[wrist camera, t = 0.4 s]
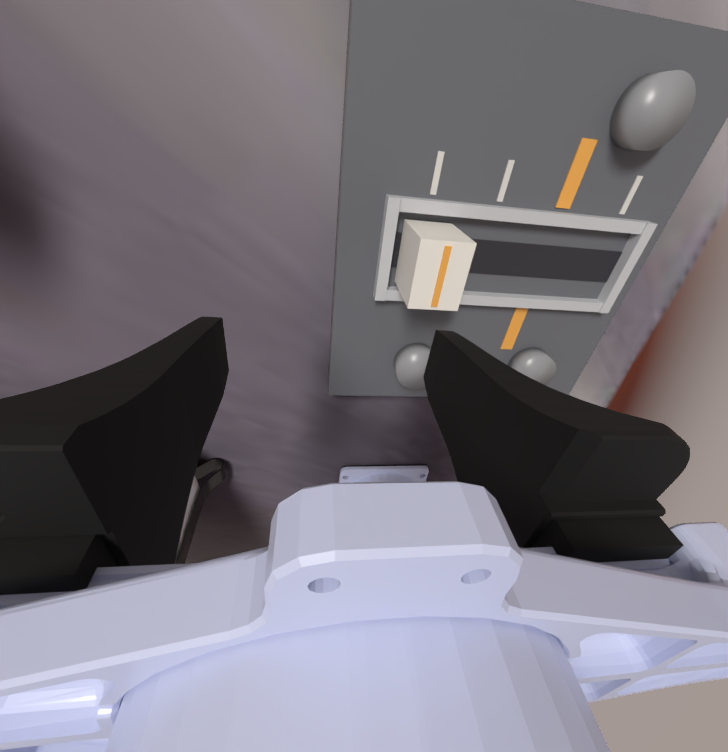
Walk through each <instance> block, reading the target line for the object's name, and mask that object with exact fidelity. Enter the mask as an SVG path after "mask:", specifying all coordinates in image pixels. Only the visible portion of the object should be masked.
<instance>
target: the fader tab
mask: <svg viewBox="0 0 728 752" xmlns="http://www.w3.org/2000/svg"><path fill="white" fill-rule="evenodd" d="M476 245H477V243H476V242H475V241H473V240H472V239H471V238H469V237H468V236H467V235H466V234H464V233H463V232H462V231H461V230H459V229H458V228H457V227H456V226H454V225H453V224H451V223H440V222H429V221H418V220H407V219H404V225H403V232H402V238H401V244H400V250H399V256H398V262H397V268H396V275H395V283H396V285H397V287H398V289H399V291H400V294H401V296H402V298H403V300H404V302H405V304H406V306H407V308H408V309H427V310H446V311H458V308H459V304H460V301H461V297H462V294H463V290H464V287H465V283H466V280H467V276H468V273H469V269H470V266H471V262H472V259H473V255H474V252H475V248H476Z"/></svg>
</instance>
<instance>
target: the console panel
mask: <svg viewBox="0 0 728 752" xmlns="http://www.w3.org/2000/svg"><path fill="white" fill-rule="evenodd" d="M727 117H728V31H724V30H719V29H714V28H709V27H704V26H699V25H694V24H689V23H684V22H679V21H674V20H670V19H665V18H660V17H655V16H650V15H645V14H640V13H635V12H630V11H625V10H620V9H615V8H610V7H605V6H600V5H595V4H590V3H585V2H580V1H575V0H350V8H349V25H348V42H347V60H346V77H345V94H344V111H343V128H342V145H341V163H340V180H339V197H338V214H337V231H336V249H335V266H334V283H333V300H332V317H331V335H330V352H329V369H328V395H341V396H409V397H428V396H427V392H426V388H425V383H424V378H423V376H424V372H425V368H426V365H427V361H428V357H429V353H430V350H431V346H432V342H433V338H434V335H435V331H436V330H446V331H454V332H456V333H458V334H459V335H461V336H463V337H464V338H466V339H468V340H469V341H471V342H472V343H474V344H475V345H477V346H478V347H480V348H481V349H483V350H484V351H486V352H487V353H489V354H490V355H492V356H493V357H495V358H497V359H498V360H500V361H501V362H503V363H505V364H506V365H508V366H510V367H511V368H513V369H515V370H517V371H518V372H520V373H522V374H524V375H526V376H528V377H529V378H532V379H534V380H536V381H538V382H540V383H542V384H544V385H546V386H548V387H550V388H553V389H555V390H557V391H560V392H562V393H565V394H567V395H569V393H570V392H571V390H572V388H573V386H574V385H575V383H576V381H577V379H578V378H579V376H580V374H581V372H582V371H583V369H584V367H585V365H586V364H587V362H588V360H589V358H590V357H591V355H592V353H593V351H594V350H595V348H596V346H597V344H598V343H599V341H600V339H601V337H602V336H603V334H604V332H605V330H606V329H607V327H608V325H609V323H610V322H611V320H612V318H613V316H614V315H615V313H616V311H617V309H618V308H619V306H620V304H621V302H622V301H623V299H624V297H625V295H626V294H627V292H628V290H629V288H630V287H631V285H632V283H633V281H634V280H635V278H636V276H637V274H638V273H639V271H640V269H641V267H642V266H643V264H644V262H645V260H646V259H647V257H648V255H649V253H650V252H651V250H652V248H653V246H654V245H655V243H656V241H657V239H658V238H659V236H660V234H661V232H662V231H663V229H664V227H665V225H666V224H667V222H668V220H669V218H670V217H671V215H672V213H673V211H674V210H675V208H676V206H677V205H678V203H679V201H680V199H681V198H682V196H683V194H684V192H685V191H686V189H687V187H688V185H689V184H690V182H691V180H692V178H693V177H694V175H695V173H696V171H697V170H698V168H699V166H700V164H701V163H702V161H703V159H704V157H705V156H706V154H707V152H708V150H709V149H710V147H711V145H712V143H713V142H714V140H715V138H716V136H717V135H718V133H719V131H720V129H721V128H722V126H723V124H724V122H725V121H726V119H727ZM404 219H407V220H418V221H429V222H440V223H451V224H453V225H454V226H456V227H457V228H458V229H459V230H461V231H462V232H463V233H464V234H466V235H467V236H468V237H469V238H471V239H472V240H473V241H475V242H476V243H477V245H476V248H475V252H474V255H473V259H472V262H471V266H470V269H469V273H468V276H467V280H466V283H465V287H464V290H463V294H462V297H461V301H460V304H459V308H458V311H446V310H427V309H408V308H407V306H406V304H405V302H404V300H403V298H402V296H401V294H400V291H399V289H398V287H397V285H396V283H395V275H396V268H397V262H398V256H399V250H400V244H401V238H402V232H403V225H404Z"/></svg>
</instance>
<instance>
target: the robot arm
mask: <svg viewBox="0 0 728 752" xmlns="http://www.w3.org/2000/svg"><path fill="white" fill-rule="evenodd" d="M228 371H229V368H228V360H227V352H226V344H225V336H224V328H223V320H222V318H217V317H200V318H198V319H196V320H194V321H193V322H191V323H189V324H188V325H186V326H184V327H183V328H181V329H179V330H178V331H176V332H174V333H173V334H171V335H169V336H167V337H166V338H164V339H162V340H161V341H159V342H157V343H155V344H153V345H151V346H150V347H148V348H146V349H144V350H142V351H140V352H138V353H136V354H134V355H132V356H130V357H128V358H126V359H124V360H122V361H119V362H117V363H115V364H112V365H110V366H107V367H105V368H103V369H100V370H98V371H95V372H92V373H89V374H86V375H83V376H80V377H77V378H74V379H71V380H68V381H65V382H62V383H60V384H56V385H53V386H49V387H46V388H42V389H39V390H35V391H31V392H27V393H23V394H19V395H15V396H11V397H7V398H3V399H0V752H610V750H609V748H608V746H607V744H606V741H605V739H604V737H603V735H602V733H601V730H600V728H599V726H598V724H597V722H596V719H595V718H594V715H593V713H592V711H591V709H590V706H589V704H588V703H589V702H594V701H599V700H605V699H609V698H614V697H620V696H624V695H630V694H635V693H640V692H645V691H650V690H656V689H661V688H667V687H672V686H678V685H684V684H691V683H697V682H703V681H710V680H717V679H725V678H728V530H727V529H725V527H724V526H723V525H722V524H721V523H716V522H705V523H683V524H678V525H675V526H673V527H670V528H668V527H667V525H666V524H665V523H664V522H663V521H662V519H661V518H660V517H659V516H663V515H664V514H665V509H664V508H663V506H662V505H661V504H660V503H659V502H658V501H657V500H656V499H657V498H658V497H659V496H660V495H661V494H662V493H663V492H664V491H665V489H667V488H668V487H669V486H670V484H672V483H673V482H674V481H675V479H676V478H677V477H678V476H679V475H680V474H681V473H682V471H683V470H684V469H685V468H686V465H687V463H688V461H689V458H690V448H689V446H688V445H687V443H686V442H685V441H684V440H683V439H682V438H681V437H680V436H678V435H677V434H676V433H675V432H674V431H673V430H672V429H670V428H669V427H668V426H666V425H664V424H662V423H658V422H654V421H650V420H646V419H643V418H639V417H635V416H631V415H627V414H623V413H619V412H616V411H613V410H610V409H607V408H604V407H600V406H597V405H594V404H591V403H588V402H586V401H583V400H580V399H577V398H575V397H572V396H570V395H567V394H565V393H562V392H560V391H557V390H555V389H553V388H550V387H548V386H546V385H544V384H542V383H540V382H538V381H536V380H534V379H532V378H529V377H528V376H526V375H524V374H522V373H520V372H518V371H517V370H515V369H513V368H511V367H510V366H508V365H506V364H505V363H503V362H501V361H500V360H498V359H497V358H495V357H493V356H492V355H490V354H489V353H487V352H486V351H484V350H483V349H481V348H480V347H478V346H477V345H475V344H474V343H472V342H471V341H469V340H468V339H466V338H464V337H463V336H461V335H459V334H458V333H456V332H454V331H446V330H436V331H435V335H434V338H433V342H432V346H431V350H430V353H429V357H428V361H427V365H426V368H425V372H424V376H423V378H424V383H425V388H426V392H427V396H428V400H429V402H430V405H431V408H432V410H433V413H434V415H435V418H436V420H437V423H438V425H439V428H440V430H441V433H442V435H443V437H444V440H445V442H446V445H447V447H448V450H449V453H450V456H451V459H452V462H453V466H454V469H455V473H456V477H457V480H458V482H457V481H434V482H426V479H427V476H428V473H429V469H428V467H427V466H364V467H343V468H341V469H340V476H339V483H328V484H323V485H317V486H311V487H306V488H303V489H301V490H300V491H298V492H297V493H295V494H293V495H292V496H290V497H289V498H287V499H285V500H284V501H282V502H280V503H279V504H278V507H277V509H276V511H275V514H274V516H273V518H272V521H271V530H270V538H269V546H268V547H263V548H259V549H255V550H250V551H246V552H242V553H237V554H233V555H229V556H224V557H220V558H216V559H211V560H207V561H203V562H198V563H186V564H175V560H176V555H177V549H178V545H179V540H180V535H181V531H182V526H183V521H184V517H185V512H186V508H187V504H188V500H189V495H190V491H191V487H192V483H193V479H194V475H195V472H196V468H197V464H198V460H199V457H200V454H201V451H202V448H203V445H204V443H205V440H206V438H207V435H208V433H209V430H210V428H211V425H212V423H213V420H214V418H215V415H216V412H217V410H218V407H219V405H220V402H221V399H222V397H223V394H224V390H225V385H226V381H227V376H228Z"/></svg>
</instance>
